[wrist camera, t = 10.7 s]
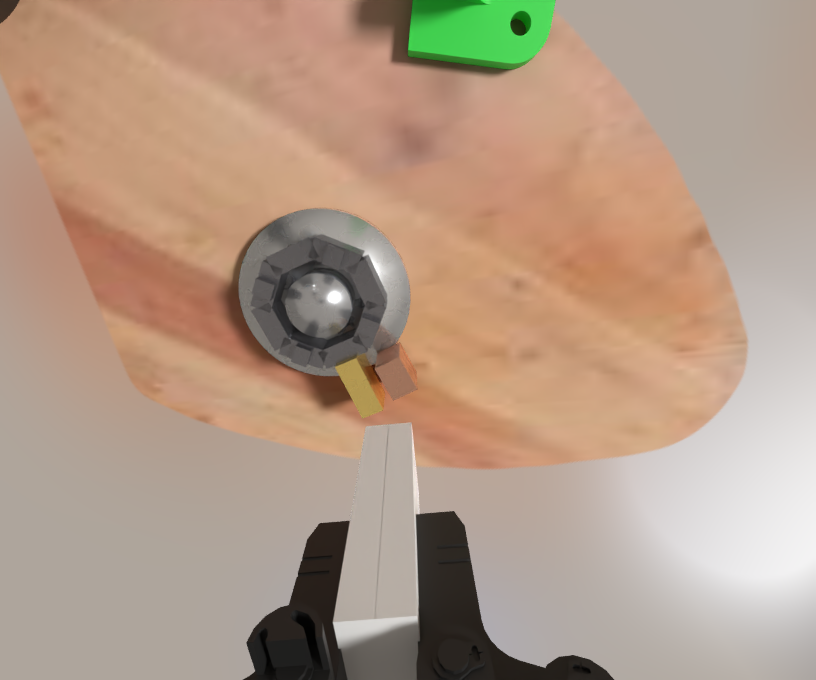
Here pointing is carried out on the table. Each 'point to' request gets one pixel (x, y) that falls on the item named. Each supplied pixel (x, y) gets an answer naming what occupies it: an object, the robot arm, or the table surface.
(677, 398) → the table surface
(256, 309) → the grey ring yellow handle
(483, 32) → the mechanical part
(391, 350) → the housing
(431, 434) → the table surface
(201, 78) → the table surface
